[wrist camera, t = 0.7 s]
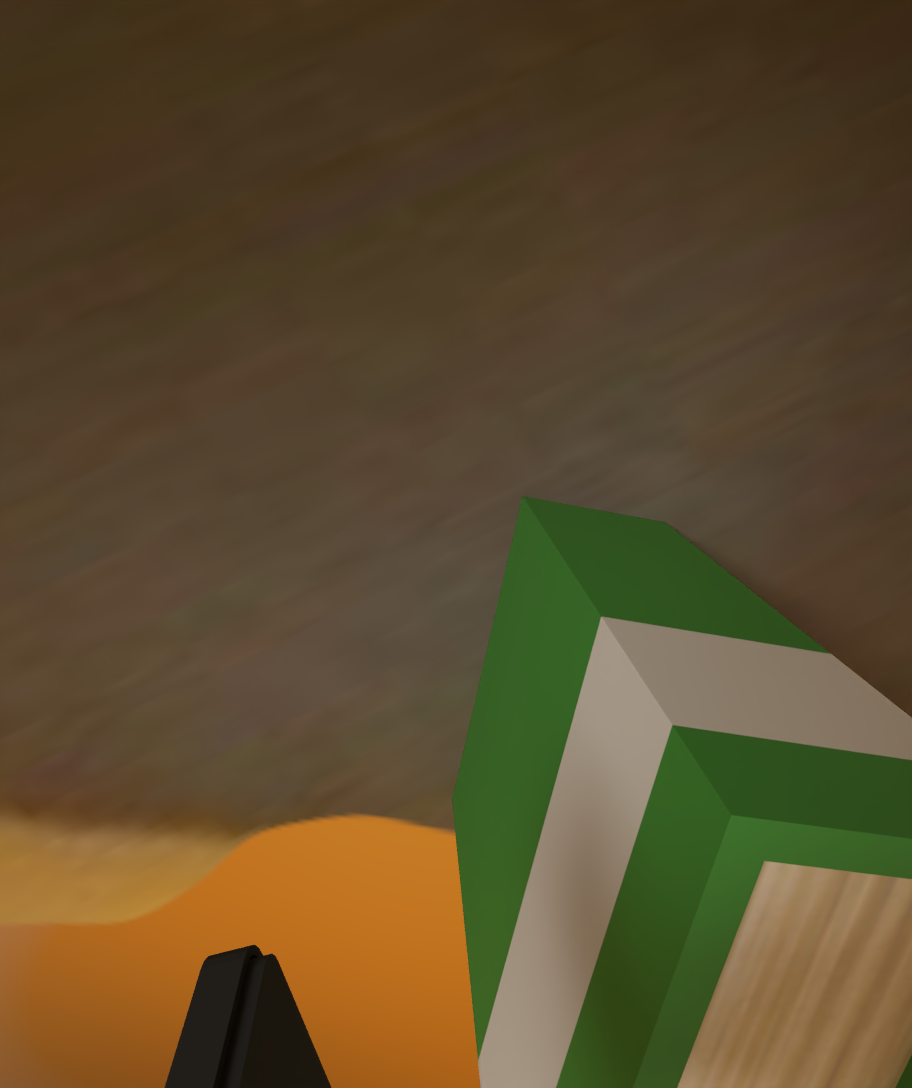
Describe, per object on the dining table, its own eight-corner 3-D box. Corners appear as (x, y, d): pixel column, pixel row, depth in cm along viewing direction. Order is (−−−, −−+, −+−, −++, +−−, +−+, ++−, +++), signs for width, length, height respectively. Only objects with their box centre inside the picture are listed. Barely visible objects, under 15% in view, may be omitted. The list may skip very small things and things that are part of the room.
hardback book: (579, 816, 42) (792, 1424, 19) (452, 799, 41) (513, 1417, 18) (665, 522, 37) (1094, 863, 14) (522, 496, 36) (730, 814, 13)
